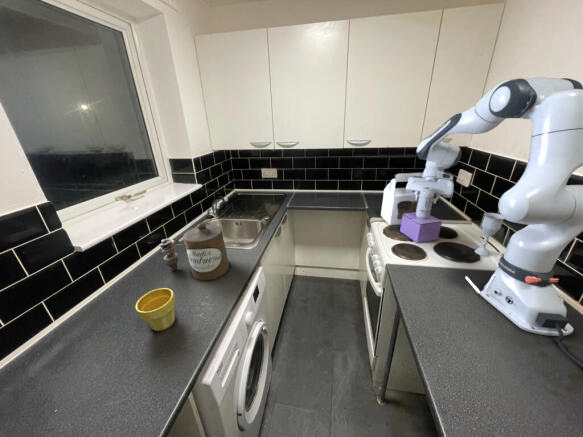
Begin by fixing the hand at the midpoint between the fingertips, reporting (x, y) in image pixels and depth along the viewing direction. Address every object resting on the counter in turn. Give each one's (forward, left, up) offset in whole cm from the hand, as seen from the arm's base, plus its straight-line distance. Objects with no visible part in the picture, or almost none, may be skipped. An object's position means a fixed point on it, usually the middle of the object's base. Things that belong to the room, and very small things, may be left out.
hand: (425, 201), depth 111 cm
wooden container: (-33, +98, -19) cm, 105 cm away
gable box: (+21, +1, -19) cm, 28 cm away
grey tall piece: (-34, +114, -19) cm, 120 cm away
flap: (-3, -1, -9) cm, 9 cm away
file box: (+1, 0, -19) cm, 19 cm away
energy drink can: (+1, 0, -9) cm, 9 cm away
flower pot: (-61, +102, -19) cm, 120 cm away
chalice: (-15, -21, -19) cm, 32 cm away
